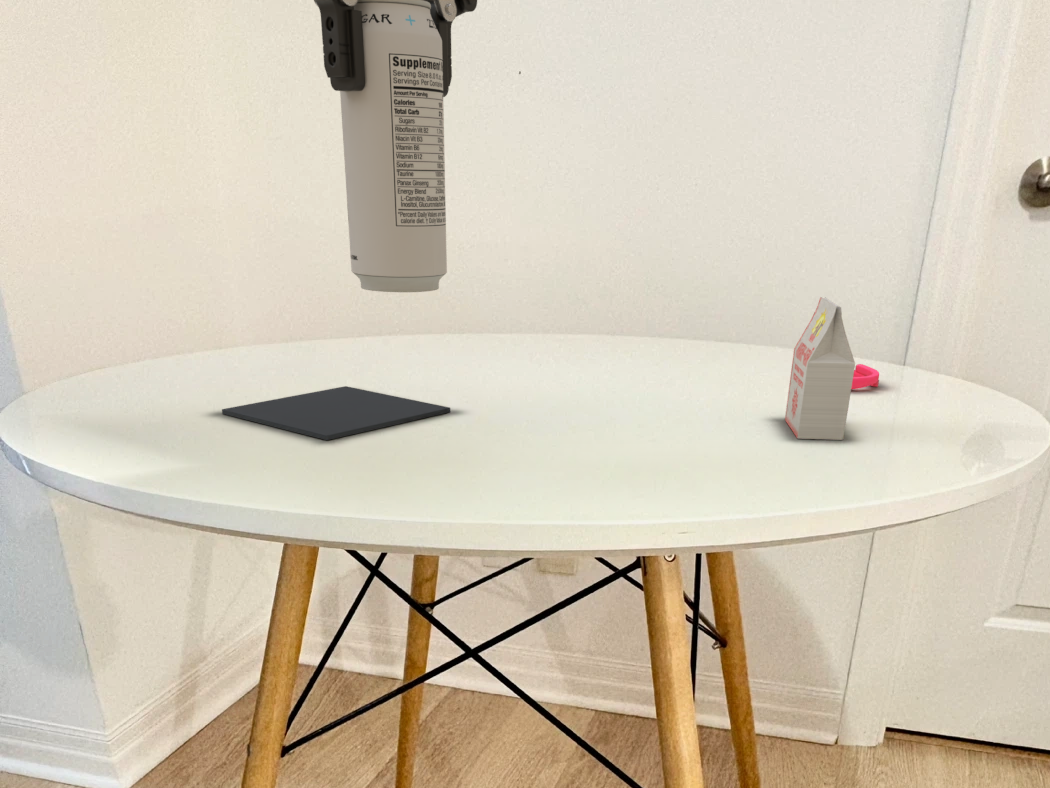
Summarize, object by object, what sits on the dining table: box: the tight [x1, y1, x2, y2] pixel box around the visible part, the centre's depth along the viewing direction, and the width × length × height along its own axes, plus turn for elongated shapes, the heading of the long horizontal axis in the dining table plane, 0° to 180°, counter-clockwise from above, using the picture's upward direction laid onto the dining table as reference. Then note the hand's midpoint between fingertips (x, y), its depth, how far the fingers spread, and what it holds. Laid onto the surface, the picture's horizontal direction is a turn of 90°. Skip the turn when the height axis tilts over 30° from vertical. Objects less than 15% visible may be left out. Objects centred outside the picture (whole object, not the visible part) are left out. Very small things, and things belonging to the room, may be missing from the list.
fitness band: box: [851, 363, 880, 390], centre depth 102 cm, size 8×6×2 cm
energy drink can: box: [339, 0, 448, 293], centre depth 61 cm, size 6×6×15 cm
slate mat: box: [221, 385, 451, 441], centre depth 88 cm, size 14×14×1 cm
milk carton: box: [784, 296, 856, 441], centre depth 82 cm, size 4×7×10 cm, turn 176°
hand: (391, 92), depth 59 cm, fingers closed on energy drink can, 6 cm apart
